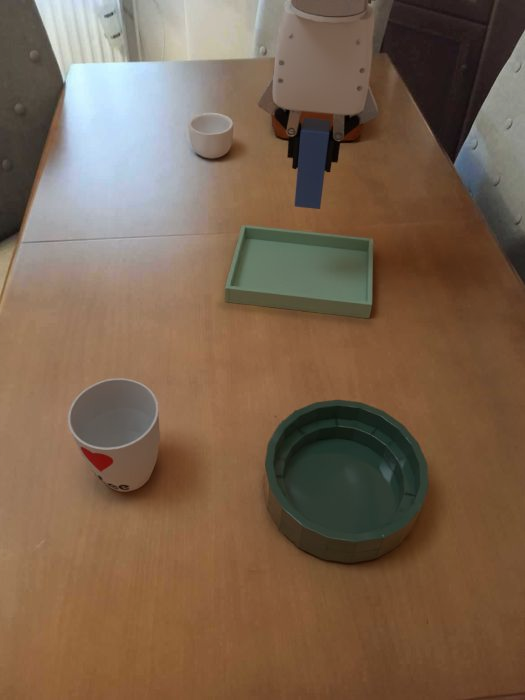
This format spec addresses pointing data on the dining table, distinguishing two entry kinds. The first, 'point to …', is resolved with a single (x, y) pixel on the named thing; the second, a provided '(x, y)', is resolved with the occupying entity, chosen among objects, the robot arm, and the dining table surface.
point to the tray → (302, 271)
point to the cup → (117, 431)
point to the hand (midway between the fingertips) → (312, 163)
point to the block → (311, 162)
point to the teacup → (211, 134)
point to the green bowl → (344, 480)
